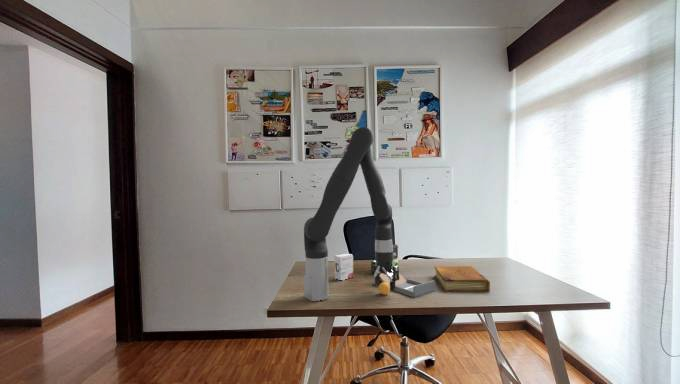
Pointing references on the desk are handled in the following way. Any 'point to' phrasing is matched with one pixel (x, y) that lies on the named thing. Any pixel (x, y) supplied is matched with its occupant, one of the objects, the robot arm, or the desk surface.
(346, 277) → the ink box
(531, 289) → the desk surface
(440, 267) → the diary
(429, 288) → the rolling lane
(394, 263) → the coffee can
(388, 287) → the ball
